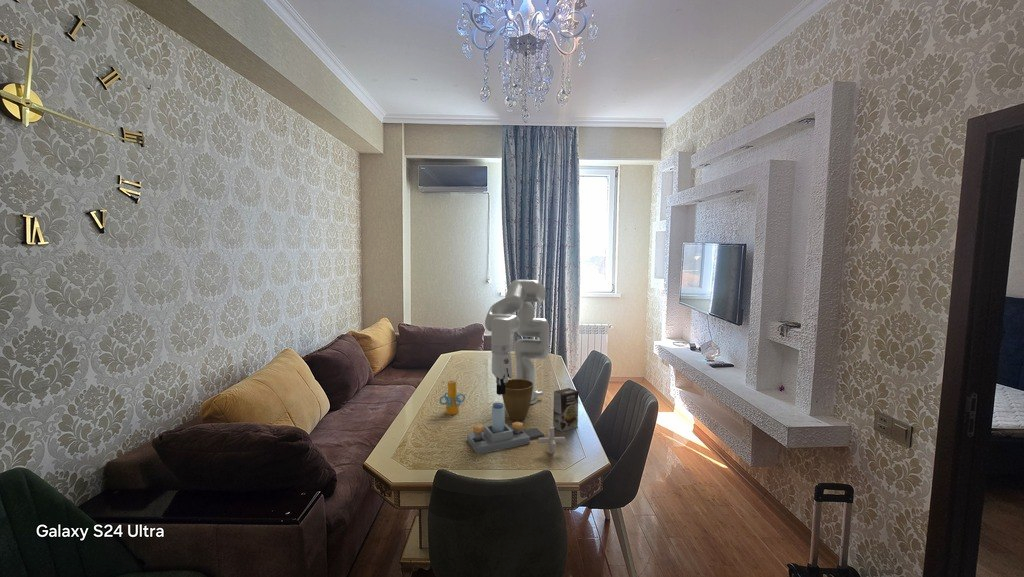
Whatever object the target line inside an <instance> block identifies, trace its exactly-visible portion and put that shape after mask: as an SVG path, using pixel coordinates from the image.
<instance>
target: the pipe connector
mask: <svg viewBox="0 0 1024 577" xmlns="http://www.w3.org/2000/svg"><path fill="white" fill-rule="evenodd" d="M546 435H547V437H540V438H537V439H538V440H537V441H538V444H543V443H544V444H547V443H548V444H549V446H548V448H549V451H548V452H549V454H551V455H554V454H555V449H557V443H564V442H565V443H566V437H565V436H555V427H553V426H549V432H547V434H546Z"/></svg>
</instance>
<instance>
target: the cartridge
mask: <svg viewBox="0 0 1024 577" xmlns="http://www.w3.org/2000/svg"><path fill="white" fill-rule="evenodd" d="M504 423H505V405H504V402H494V403H493V404H492V406H491V425H492V433H499V432H504Z"/></svg>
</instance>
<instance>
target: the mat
mask: <svg viewBox="0 0 1024 577" xmlns="http://www.w3.org/2000/svg"><path fill="white" fill-rule="evenodd" d="M521 430H522V431H524V432H525V433H526V434H527V435H528V436H529V437H530V440H534V439H538V438H545V434H544V432H542V431H541V430H540V429H538V427H534V428H529V429H524V430H523V429H521Z"/></svg>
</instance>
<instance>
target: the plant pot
mask: <svg viewBox="0 0 1024 577" xmlns="http://www.w3.org/2000/svg"><path fill="white" fill-rule="evenodd" d="M532 391H533V383H532V382H531V381H529V380H524V379H516V378H514V379H513V378H510V379H508V382H507V383H506V386H505V394H502V395H501V396H502V399H503V405H504V409H505V410H506V413H507V416H508V418H509V420H512V421H514V422H520V421H523V420H525V419H526V417H527V415H528V412H529V408H530V405H531V404H530V401H531V397H532Z"/></svg>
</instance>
